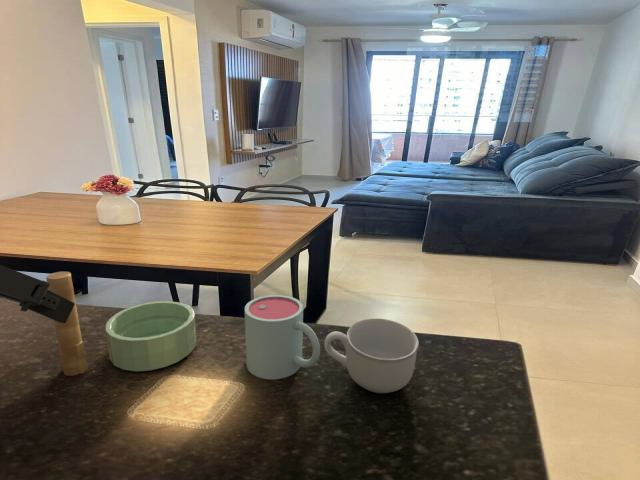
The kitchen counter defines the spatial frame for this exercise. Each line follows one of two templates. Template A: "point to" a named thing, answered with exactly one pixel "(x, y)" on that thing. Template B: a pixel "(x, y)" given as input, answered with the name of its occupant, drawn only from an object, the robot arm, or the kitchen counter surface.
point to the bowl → (151, 335)
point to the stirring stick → (68, 327)
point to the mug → (277, 337)
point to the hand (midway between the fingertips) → (25, 306)
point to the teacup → (377, 354)
